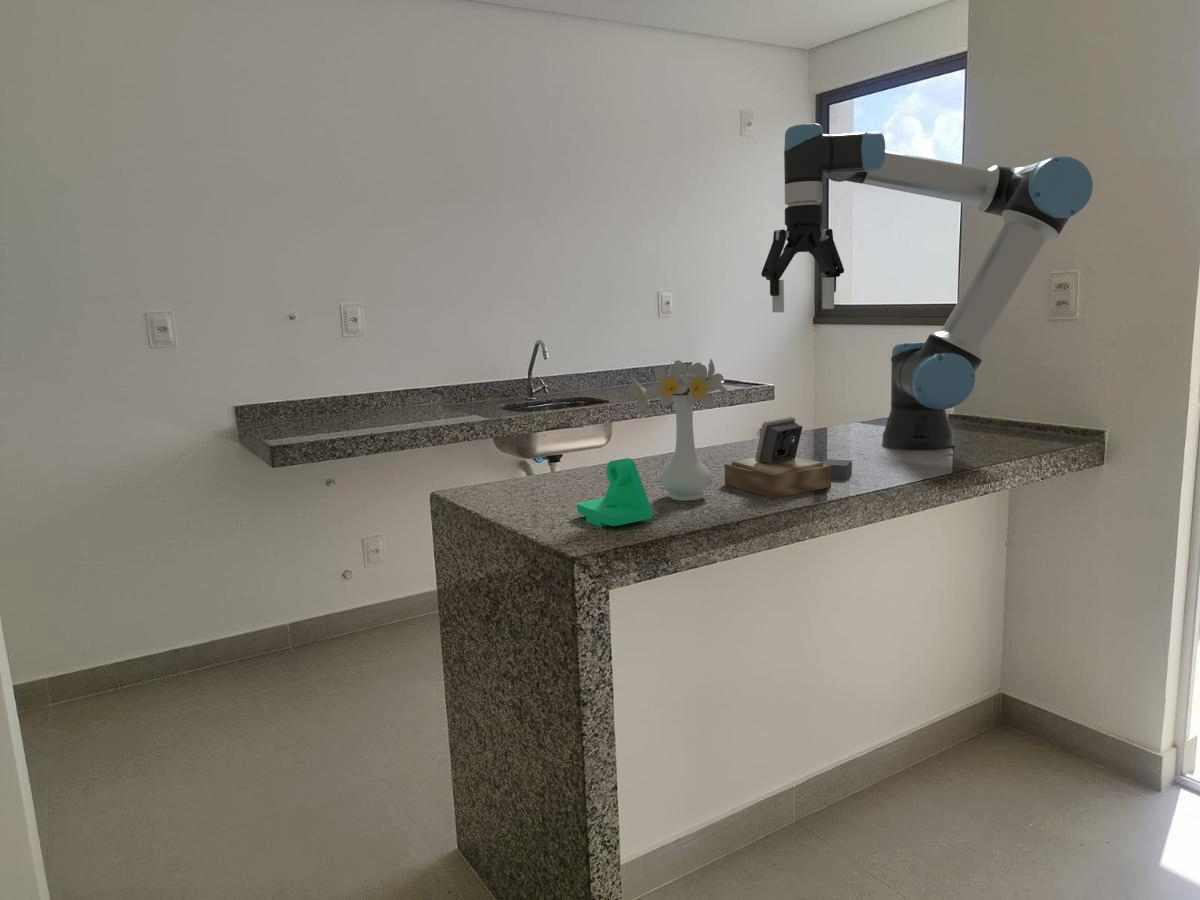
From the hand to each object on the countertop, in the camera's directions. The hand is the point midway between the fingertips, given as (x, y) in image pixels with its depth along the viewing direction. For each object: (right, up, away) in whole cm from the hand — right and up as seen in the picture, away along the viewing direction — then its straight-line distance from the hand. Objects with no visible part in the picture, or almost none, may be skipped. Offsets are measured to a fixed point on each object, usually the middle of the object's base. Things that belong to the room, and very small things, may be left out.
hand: (803, 310), depth 180 cm
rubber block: (+4, -34, -11) cm, 36 cm away
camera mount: (-40, -41, -35) cm, 67 cm away
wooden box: (-9, -36, -16) cm, 40 cm away
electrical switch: (-9, -31, -17) cm, 37 cm away
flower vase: (-27, -38, -23) cm, 52 cm away
